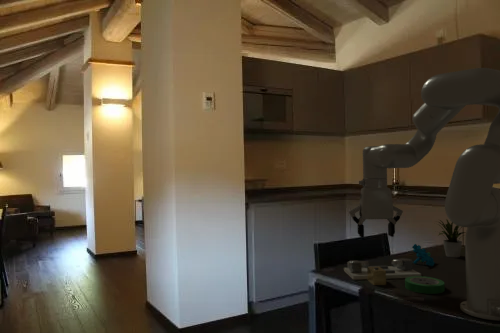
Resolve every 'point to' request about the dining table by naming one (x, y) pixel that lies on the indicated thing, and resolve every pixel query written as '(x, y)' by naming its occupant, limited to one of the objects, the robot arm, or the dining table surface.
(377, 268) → the tan box with knob
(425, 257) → the dark teal lobed piece
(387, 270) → the mounting base plate
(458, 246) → the house plant
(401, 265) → the shaft right
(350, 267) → the shaft left
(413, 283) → the tape roll
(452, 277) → the dining table surface
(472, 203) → the robot arm
